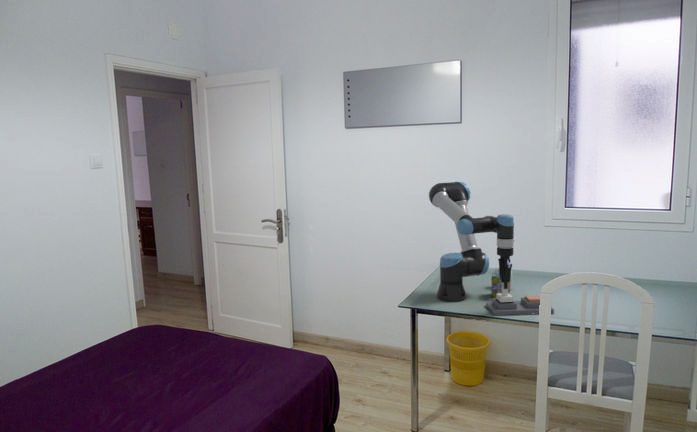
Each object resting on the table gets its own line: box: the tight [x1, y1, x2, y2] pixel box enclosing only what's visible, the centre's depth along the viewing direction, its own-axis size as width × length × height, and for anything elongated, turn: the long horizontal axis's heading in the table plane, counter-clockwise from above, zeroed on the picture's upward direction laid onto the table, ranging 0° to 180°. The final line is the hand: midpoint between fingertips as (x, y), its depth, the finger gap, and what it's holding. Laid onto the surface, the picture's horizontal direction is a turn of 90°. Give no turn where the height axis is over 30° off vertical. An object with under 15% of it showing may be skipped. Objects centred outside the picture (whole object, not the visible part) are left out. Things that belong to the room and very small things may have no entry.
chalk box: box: [490, 271, 511, 299], centre depth 246 cm, size 9×9×15 cm
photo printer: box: [493, 266, 514, 291], centre depth 260 cm, size 10×4×12 cm, turn 39°
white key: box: [496, 293, 514, 302], centre depth 225 cm, size 6×6×2 cm
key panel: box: [485, 296, 555, 316], centre depth 226 cm, size 28×14×4 cm, turn 90°
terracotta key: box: [524, 294, 541, 303], centre depth 225 cm, size 6×6×2 cm
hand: (504, 294), depth 225 cm, fingers closed
